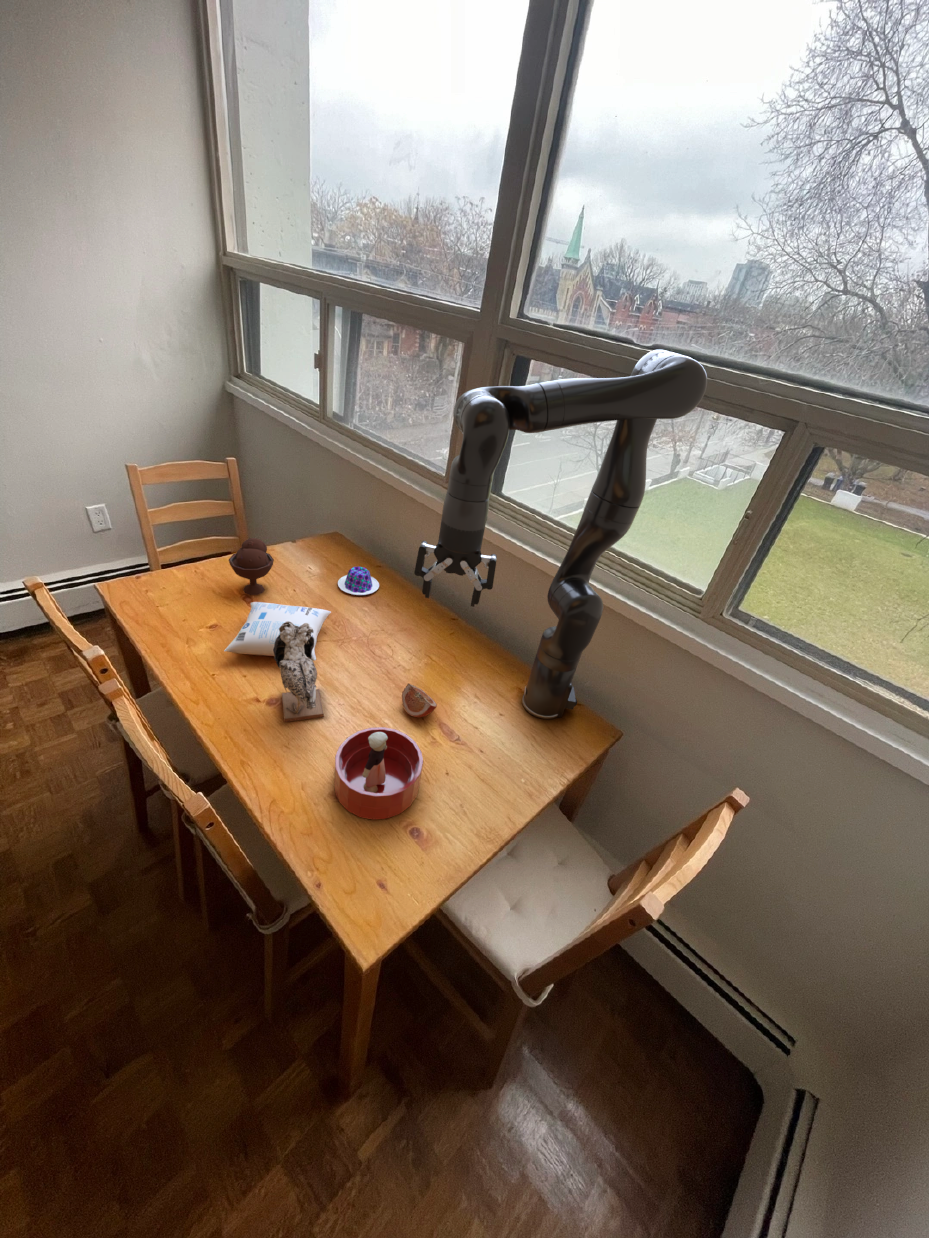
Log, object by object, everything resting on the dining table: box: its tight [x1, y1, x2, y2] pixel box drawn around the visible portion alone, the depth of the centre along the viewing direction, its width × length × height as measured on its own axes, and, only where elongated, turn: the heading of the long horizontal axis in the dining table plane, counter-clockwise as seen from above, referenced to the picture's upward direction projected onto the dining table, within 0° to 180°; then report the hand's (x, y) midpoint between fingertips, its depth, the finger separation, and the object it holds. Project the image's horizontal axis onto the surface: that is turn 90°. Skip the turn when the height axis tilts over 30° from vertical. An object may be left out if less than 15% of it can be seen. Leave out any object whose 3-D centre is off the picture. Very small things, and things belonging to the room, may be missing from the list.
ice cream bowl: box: [228, 537, 275, 596], centre depth 136 cm, size 11×11×15 cm
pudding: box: [337, 566, 380, 596], centre depth 148 cm, size 12×12×5 cm
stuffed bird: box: [273, 621, 325, 723], centre depth 103 cm, size 10×20×17 cm, turn 39°
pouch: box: [223, 601, 332, 661], centre depth 121 cm, size 8×19×20 cm
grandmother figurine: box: [362, 732, 388, 793], centre depth 90 cm, size 8×4×13 cm, turn 171°
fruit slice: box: [401, 683, 438, 718], centre depth 110 cm, size 8×7×5 cm
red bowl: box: [334, 726, 424, 821], centre depth 92 cm, size 15×15×7 cm
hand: (450, 600), depth 94 cm, fingers open, 8 cm apart
